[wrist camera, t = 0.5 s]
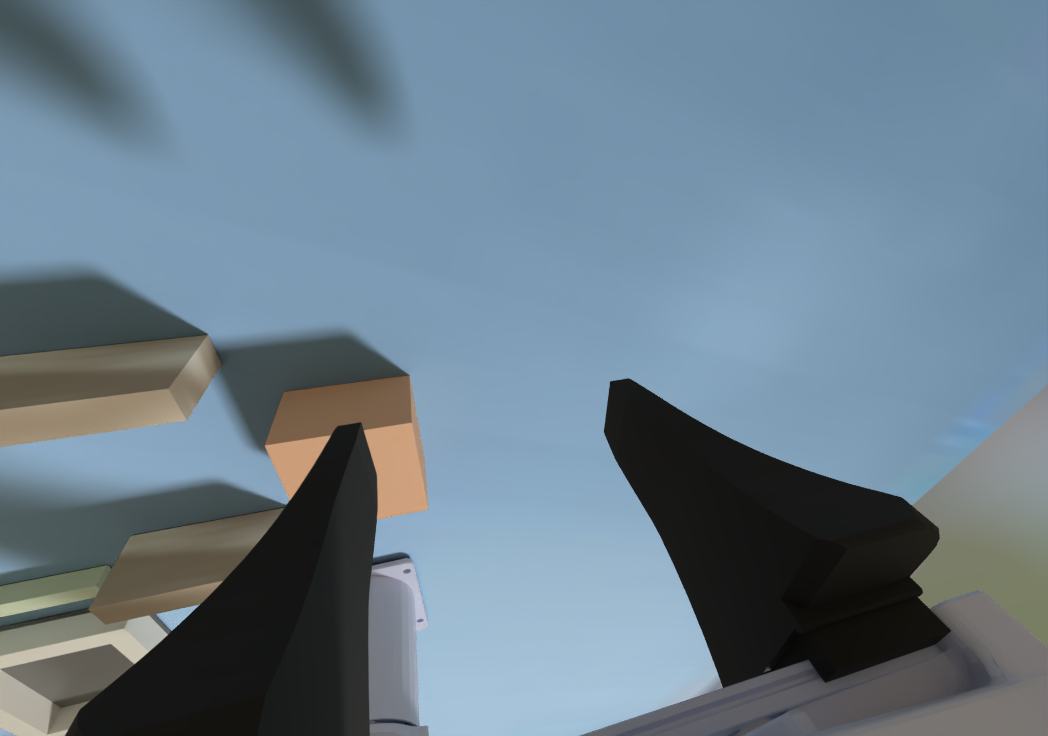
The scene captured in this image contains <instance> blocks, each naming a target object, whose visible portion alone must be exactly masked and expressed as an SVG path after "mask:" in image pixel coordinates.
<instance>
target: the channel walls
mask: <svg viewBox="0 0 1048 736" xmlns="http://www.w3.org/2000/svg"><path fill="white" fill-rule="evenodd" d="M221 364H222V363H221V361H220V359H219V357H218V355H217V353H216V351H215V348H214V346H213V344H212V342H211V340H210V338H209V336H208V335H202V336H193V337H183V338H173V339H164V340H154V341H145V342H135V343H126V344H116V345H107V346H97V347H88V348H78V349H68V350H59V351H49V352H40V353H30V354H21V355H11V356H2V357H0V447H3V446H10V445H17V444H24V443H31V442H39V441H46V440H53V439H60V438H67V437H74V436H81V435H88V434H96V433H103V432H110V431H117V430H124V429H131V428H138V427H146V426H153V425H160V424H167V423H174V422H181V421H187V420H188V418H189V416H190V415H191V413H192V411H193V410H194V408H195V407H196V405H197V403H198V402H199V400H200V398H201V397H202V395H203V394H204V392H205V390H206V389H207V387H208V385H209V384H210V382H211V381H212V379H213V377H214V376H215V374H216V372H217V371H218V369H219V367H220V366H221ZM283 509H284V508H280V509H274V510H269V511H263V512H258V513H253V514H247V515H242V516H236V517H231V518H225V519H220V520H215V521H209V522H204V523H198V524H193V525H188V526H182V527H177V528H171V529H166V530H160V531H155V532H150V533H144V534H139V535H133V536H130V538H129V540H128V542H127V543H126V545H125V547H124V548H123V550H122V552H121V554H120V555H119V557H118V559H117V560H116V562H115V564H114V566H113V567H112V569H111V571H110V572H109V574H108V576H107V578H106V579H105V581H104V583H103V584H102V586H101V588H100V590H99V591H98V593H97V595H96V597H95V598H94V600H93V602H92V603H91V605H90V607H89V609H88V610H89V611H91V612H92V613H93V614H94V615H95V616H96V617H97V618H98V619H99V620H101V621H102V622H103V623H104V624H105V625H108V624H112V623H117V622H121V621H126V620H130V619H135V618H139V617H144V616H149V615H153V614H158V613H162V612H167V611H171V610H176V609H181V608H185V607H190V606H194V605H199V604H201V603H202V602H203V601H204V600H205V599H206V598H207V597H208V596H209V595H210V594H211V593H212V592H213V591H214V590H215V589H216V588H217V587H218V586H219V585H220V584H221V583H222V582H223V581H224V580H225V579H226V578H227V576H228V575H229V574H230V573H231V572H232V571H233V570H234V569H235V568H236V567H237V566H238V565H239V563H240V562H241V561H242V560H243V559H244V558H245V557H246V556H247V554H248V553H249V552H250V551H251V550H252V549H253V547H254V546H255V545H256V544H257V543H258V542H259V540H260V539H261V538H262V537H263V535H264V534H265V533H266V532H267V530H268V529H269V528H270V527H271V525H272V524H273V523H274V521H275V520H276V519H277V517H278V516H279V515H280V513H281V512H282V511H283Z"/></svg>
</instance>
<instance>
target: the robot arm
mask: <svg viewBox="0 0 1048 736" xmlns="http://www.w3.org/2000/svg"><path fill="white" fill-rule="evenodd" d="M604 433H605V436H606V438H607V441H608V443H609V446H610V448H611V450H612V453H613V455H614V457H615V459H616V461H617V463H618V465H619V467H620V468H621V470H622V472H623V473H624V475H625V477H626V478H627V480H628V482H629V483H630V485H631V487H632V488H633V490H634V492H635V493H636V495H637V497H638V498H639V500H640V502H641V503H642V505H643V507H644V508H645V510H646V512H647V513H648V515H649V517H650V518H651V520H652V522H653V523H654V525H655V527H656V529H657V531H658V533H659V534H660V536H661V539H662V541H663V543H664V545H665V547H666V549H667V551H668V553H669V556H670V558H671V560H672V562H673V564H674V566H675V569H676V571H677V573H678V575H679V578H680V580H681V582H682V584H683V587H684V589H685V591H686V593H687V596H688V598H689V601H690V603H691V605H692V608H693V610H694V613H695V615H696V618H697V620H698V623H699V625H700V627H701V630H702V632H703V635H704V637H705V640H706V643H707V645H708V648H709V651H710V653H711V656H712V659H713V661H714V664H715V667H716V669H717V672H718V675H719V678H720V680H721V683H722V686H723V688H722V689H719V690H716V691H713V692H710V693H707V694H704V695H701V696H698V697H695V698H692V699H689V700H686V701H683V702H680V703H677V704H674V705H671V706H668V707H665V708H662V709H659V710H656V711H653V712H650V713H647V714H644V715H641V716H638V717H635V718H632V719H629V720H626V721H623V722H620V723H617V724H614V725H611V726H608V727H605V728H602V729H598V730H595V731H592V732H589V733H586V734H583V735H580V736H1048V647H1047V646H1046V645H1045V644H1044V643H1043V642H1041V641H1040V640H1039V639H1038V638H1037V637H1036V636H1034V635H1033V634H1032V633H1031V632H1030V631H1028V629H1026V628H1025V627H1024V626H1023V625H1022V624H1020V623H1019V622H1018V621H1017V620H1016V619H1015V618H1014V617H1012V616H1011V615H1010V614H1009V613H1008V612H1007V611H1006V610H1004V609H1003V608H1002V607H1001V606H1000V605H999V604H997V603H996V602H995V601H994V600H993V599H992V598H990V597H989V596H988V595H987V594H986V593H985V592H983V591H978V590H977V591H974V592H971V593H968V594H965V595H961V596H958V597H955V598H952V599H949V600H946V601H944V602H941V603H939V604H937V605H936V606H934V607H932V608H931V609H929V608H928V607H927V606H926V605H925V604H924V603H923V602H922V601H921V600H920V599H919V598H918V596H920V595H921V594H922V593H923V591H922V588H921V587H920V586H919V585H918V584H916V583H915V582H914V581H913V580H912V579H911V578H910V575H911V574H912V573H913V572H914V571H915V570H916V569H917V568H918V567H919V565H920V564H921V563H922V562H923V561H924V560H925V559H926V558H927V557H928V555H929V554H930V553H931V552H932V550H933V549H934V548H935V547H936V545H937V543H938V541H939V528H938V527H937V526H935V525H934V524H933V523H932V522H931V521H929V520H928V519H927V518H926V517H925V516H923V515H922V514H921V513H920V512H919V511H917V510H916V509H915V508H914V507H913V506H912V505H910V504H909V503H908V502H907V501H905V500H904V499H903V498H901V497H898V496H894V495H891V494H887V493H883V492H879V491H875V490H871V489H867V488H864V487H860V486H856V485H852V484H849V483H845V482H842V481H839V480H836V479H832V478H829V477H826V476H823V475H820V474H817V473H814V472H811V471H808V470H805V469H802V468H799V467H797V466H794V465H791V464H789V463H786V462H784V461H781V460H778V459H776V458H773V457H771V456H768V455H766V454H764V453H761V452H759V451H757V450H754V449H752V448H750V447H748V446H746V445H744V444H741V443H739V442H737V441H735V440H733V439H731V438H729V437H727V436H725V435H723V434H721V433H719V432H717V431H716V430H714V429H712V428H710V427H708V426H706V425H705V424H703V423H701V422H699V421H698V420H696V419H694V418H692V417H691V416H689V415H687V414H686V413H684V412H682V411H681V410H679V409H677V408H676V407H674V406H673V405H671V404H669V403H668V402H666V401H665V400H663V399H662V398H660V397H658V396H657V395H655V394H654V393H652V392H651V391H649V390H647V389H646V388H644V387H643V386H641V385H639V384H638V383H636V382H634V381H633V380H631V379H629V378H628V379H622V380H616V381H610V388H609V396H608V404H607V412H606V419H605V427H604ZM377 512H378V490H377V473H376V469H375V466H374V463H373V459H372V456H371V453H370V449H369V446H368V443H367V439H366V436H365V433H364V429H363V426H362V423H361V422H359V423H353V424H347V425H340V426H337V427H336V428H335V430H334V431H333V433H332V435H331V436H330V438H329V440H328V442H327V443H326V445H325V447H324V448H323V450H322V452H321V454H320V455H319V457H318V458H317V460H316V462H315V463H314V465H313V467H312V468H311V470H310V471H309V473H308V474H307V476H306V477H305V479H304V481H303V482H302V484H301V485H300V487H299V488H298V490H297V491H296V493H295V494H294V495H293V497H292V498H291V500H290V501H289V502H288V504H287V505H286V506H285V508H284V509H283V511H282V512H281V513H280V515H279V516H278V517H277V519H276V520H275V521H274V523H273V524H272V525H271V527H270V528H269V529H268V530H267V532H266V533H265V534H264V535H263V537H262V538H261V539H260V540H259V542H258V543H257V544H256V545H255V546H254V547H253V549H252V550H251V551H250V552H249V553H248V554H247V556H246V557H245V558H244V559H243V560H242V561H241V562H240V563H239V565H238V566H237V567H236V568H235V569H234V570H233V571H232V572H231V573H230V574H229V575H228V576H227V578H226V579H225V580H224V581H223V582H222V583H221V584H220V585H219V586H218V587H217V588H216V589H215V590H214V591H213V592H212V593H211V594H210V595H209V596H208V597H207V598H206V599H205V600H204V601H203V602H202V603H201V604H200V605H199V606H198V607H197V608H196V609H195V610H194V611H193V612H192V613H191V614H190V615H189V616H188V617H187V618H186V619H185V620H183V621H182V622H181V623H180V624H179V625H178V626H177V627H176V628H175V629H174V630H173V631H172V632H170V633H169V634H168V635H167V636H166V637H165V638H164V639H163V640H162V641H161V642H159V643H158V644H157V645H156V646H155V647H154V648H153V649H152V650H150V651H149V652H148V653H147V654H146V655H145V656H144V657H142V658H141V659H140V660H139V661H138V662H136V663H135V664H134V665H133V666H132V667H130V668H129V669H128V670H127V671H126V672H124V673H123V674H122V675H121V676H120V677H118V678H117V679H116V680H115V681H114V682H112V683H111V684H110V685H109V686H108V687H106V688H105V689H104V690H103V691H102V692H100V693H99V694H98V695H97V696H96V697H94V698H93V699H92V700H91V701H89V702H88V703H87V704H86V705H84V706H83V707H82V708H81V709H80V710H79V712H78V713H77V715H76V717H75V719H74V720H73V722H72V724H71V726H70V727H69V729H68V731H67V733H66V734H65V736H429V735H428V726H420V723H419V697H418V670H417V643H416V631H419V630H423V629H425V628H427V626H428V619H427V615H426V611H425V607H424V603H423V599H422V595H421V591H420V587H419V583H418V579H417V575H416V571H415V567H414V563H413V560H412V559H409V558H405V559H400V560H396V561H391V562H386V563H382V564H377V565H373V566H372V561H373V552H374V542H375V533H376V523H377Z"/></svg>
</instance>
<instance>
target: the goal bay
mask: <svg viewBox="0 0 1048 736" xmlns="http://www.w3.org/2000/svg"><path fill="white" fill-rule="evenodd" d="M110 571H111V568H110V567H109V566H108V565H106V566H101V567H96V568H91V569H86V570H80V571H75V572H70V573H65V574H60V575H55V576H50V577H44V578H39V579H34V580H29V581H24V582H19V583H14V584H9V585H3V586H0V617H4V616H8V615H13V614H18V613H23V612H28V611H33V610H37V609H42V608H47V607H52V606H57V605H62V604H66V603H71V602H76V601H81V600H86V599H91V598H95V597H96V595H97V593H98V591H99V590H100V588H101V586H102V584H103V583H104V581H105V579H106V578H107V576H108V574H109V572H110Z"/></svg>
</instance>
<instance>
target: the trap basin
mask: <svg viewBox="0 0 1048 736" xmlns="http://www.w3.org/2000/svg"><path fill="white" fill-rule="evenodd" d="M170 632H171V631H170V630H169V629H168V627H167V626H166V625H165V624H164V623H163V622H162V621H161V620H160V619H159V618H158V617H157V616H156V615H155V614H153V615H149V616H144V617H139V618H135V619H130V620H126V621H121V622H117V623H112V624H108V625H105V624H104V623H103V622H102V621H101V620H99V619H98V618H97V617H96V616H95V615H94V614H93V613H92V612H91V611H89V610H88V609H84V610H79V611H75V612H70V613H65V614H60V615H56V616H51V617H46V618H41V619H37V620H32V621H27V622H22V623H18V624H13V625H8V626H3V627H0V728H2V729H4V730H6V731H8V732H10V733H12V734H14V735H16V736H65V734H66V733H67V731H68V729H69V727H70V726H71V724H72V722H73V720H74V719H75V717H76V715H77V713H78V712H79V710H80V709H81V708H82V707H83V706H84V705H86V704H87V703H88V702H89V701H91V700H92V699H93V698H94V697H96V696H97V695H98V694H99V693H100V692H102V691H103V690H104V689H105V688H106V687H108V686H109V685H110V684H111V683H112V682H114V681H115V680H116V679H117V678H118V677H120V676H121V675H122V674H123V673H124V672H126V671H127V670H128V669H129V668H130V667H132V666H133V665H134V664H135V663H136V662H138V661H139V660H140V659H141V658H142V657H144V656H145V655H146V654H147V653H148V652H149V651H150V650H152V649H153V648H154V647H155V646H156V645H157V644H158V643H159V642H161V641H162V640H163V639H164V638H165V637H166V636H167V635H168V634H169V633H170Z"/></svg>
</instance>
